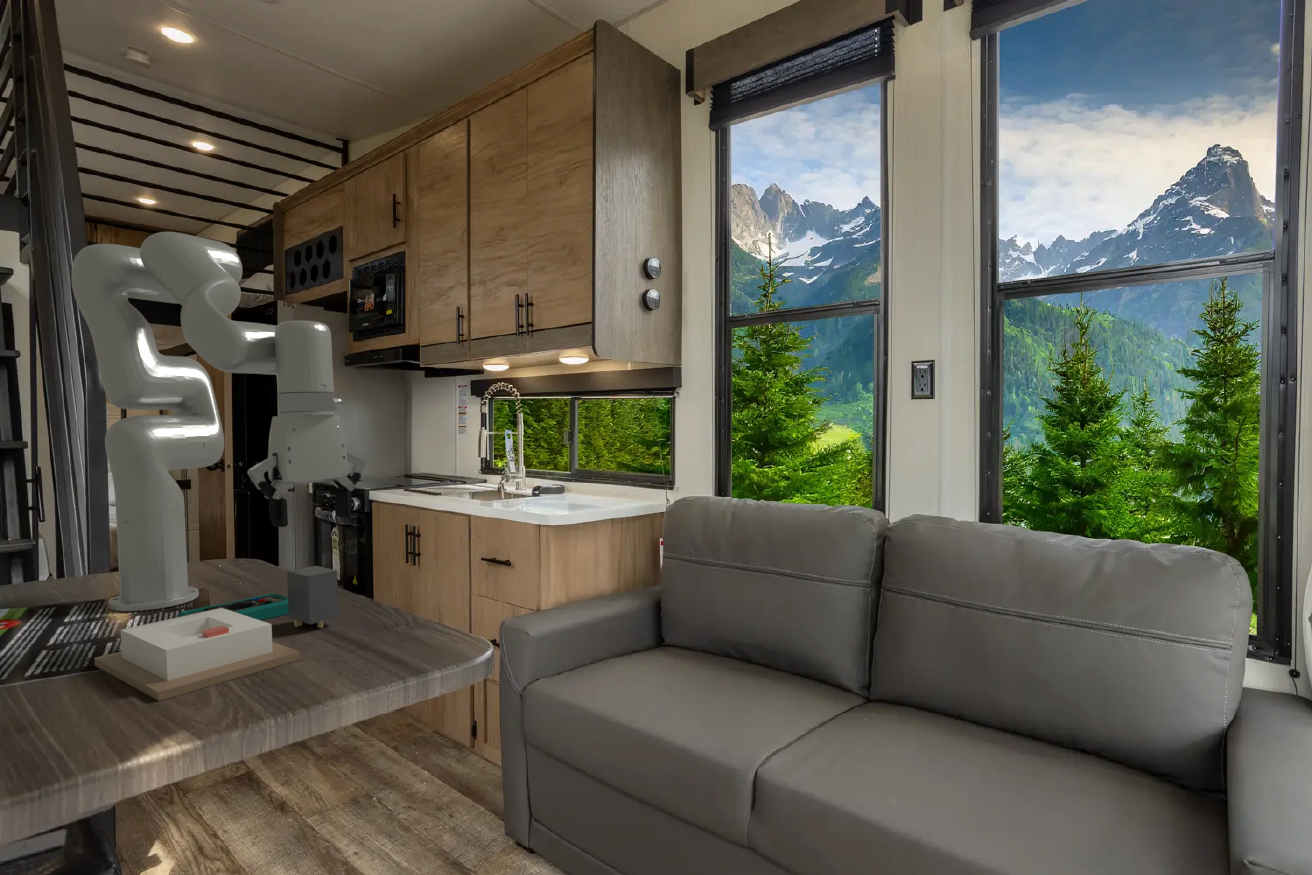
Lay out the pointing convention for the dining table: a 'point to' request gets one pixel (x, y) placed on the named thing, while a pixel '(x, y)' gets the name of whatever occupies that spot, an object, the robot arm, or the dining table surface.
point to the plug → (312, 595)
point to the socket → (194, 652)
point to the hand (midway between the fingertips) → (312, 521)
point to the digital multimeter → (251, 607)
